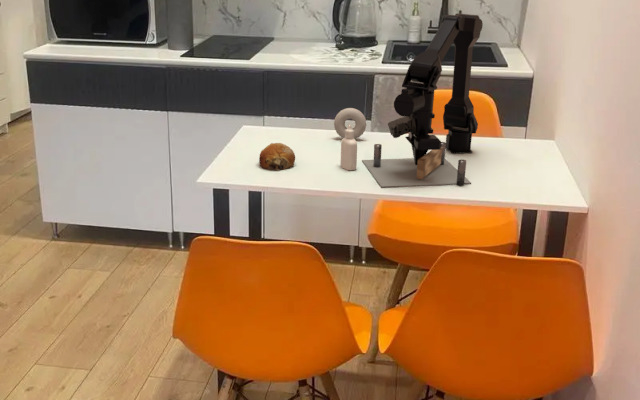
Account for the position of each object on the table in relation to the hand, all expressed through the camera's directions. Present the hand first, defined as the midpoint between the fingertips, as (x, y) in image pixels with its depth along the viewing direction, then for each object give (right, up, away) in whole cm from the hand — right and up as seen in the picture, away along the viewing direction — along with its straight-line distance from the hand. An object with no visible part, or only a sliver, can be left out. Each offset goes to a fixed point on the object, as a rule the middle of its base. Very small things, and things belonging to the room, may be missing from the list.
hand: (417, 164), depth 193 cm
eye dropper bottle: (-18, -1, +4) cm, 19 cm away
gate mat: (-1, -2, +1) cm, 2 cm away
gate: (+3, -2, -1) cm, 4 cm away
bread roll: (-38, 0, +5) cm, 38 cm away
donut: (-17, +9, +29) cm, 35 cm away
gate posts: (0, -3, -2) cm, 4 cm away
